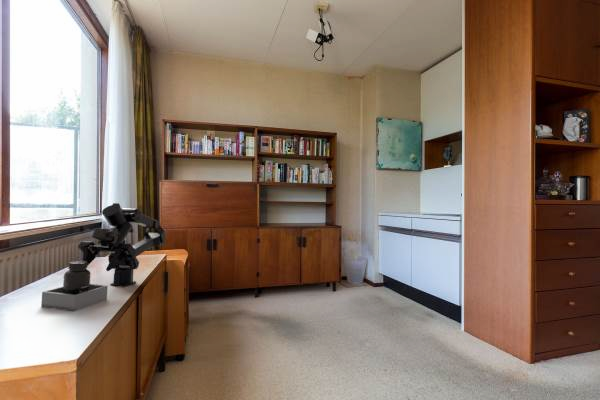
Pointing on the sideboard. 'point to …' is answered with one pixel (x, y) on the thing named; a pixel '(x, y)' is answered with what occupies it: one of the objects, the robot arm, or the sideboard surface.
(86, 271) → the supplement bottle
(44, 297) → the open box
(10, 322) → the sideboard surface
